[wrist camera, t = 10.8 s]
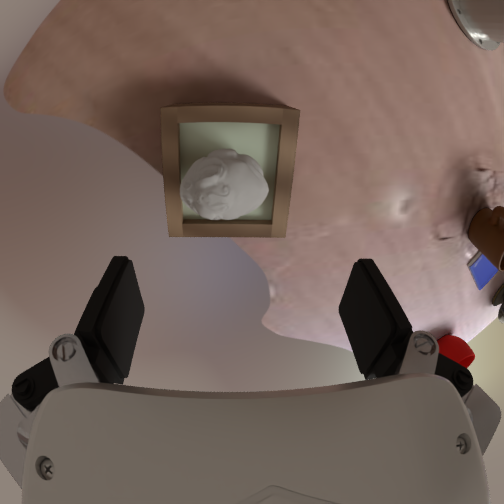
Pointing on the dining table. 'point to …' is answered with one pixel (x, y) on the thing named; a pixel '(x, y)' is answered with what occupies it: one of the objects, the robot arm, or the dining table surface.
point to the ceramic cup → (456, 350)
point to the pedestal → (243, 142)
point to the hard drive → (481, 270)
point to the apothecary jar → (499, 302)
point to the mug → (489, 235)
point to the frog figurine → (224, 185)
